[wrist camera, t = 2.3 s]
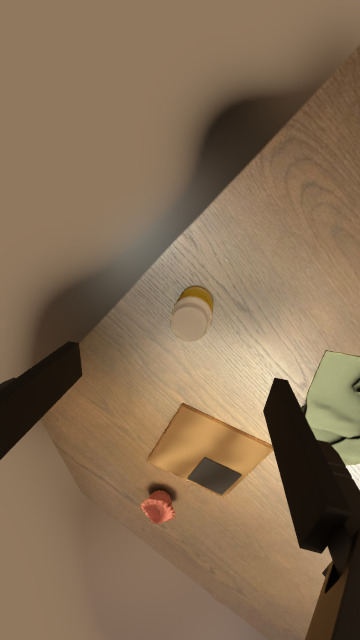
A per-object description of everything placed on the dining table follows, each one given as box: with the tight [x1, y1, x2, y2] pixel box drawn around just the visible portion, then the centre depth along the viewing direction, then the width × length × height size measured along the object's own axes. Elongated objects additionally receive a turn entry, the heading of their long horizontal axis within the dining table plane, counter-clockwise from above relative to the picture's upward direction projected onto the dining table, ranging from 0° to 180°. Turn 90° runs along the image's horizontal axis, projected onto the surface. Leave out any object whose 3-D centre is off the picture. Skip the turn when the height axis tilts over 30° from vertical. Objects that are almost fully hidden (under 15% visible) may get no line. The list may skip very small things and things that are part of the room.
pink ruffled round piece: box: [140, 490, 175, 524], centre depth 45 cm, size 8×8×6 cm
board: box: [147, 403, 273, 498], centre depth 40 cm, size 18×18×1 cm
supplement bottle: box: [171, 285, 213, 341], centre depth 25 cm, size 5×5×8 cm
